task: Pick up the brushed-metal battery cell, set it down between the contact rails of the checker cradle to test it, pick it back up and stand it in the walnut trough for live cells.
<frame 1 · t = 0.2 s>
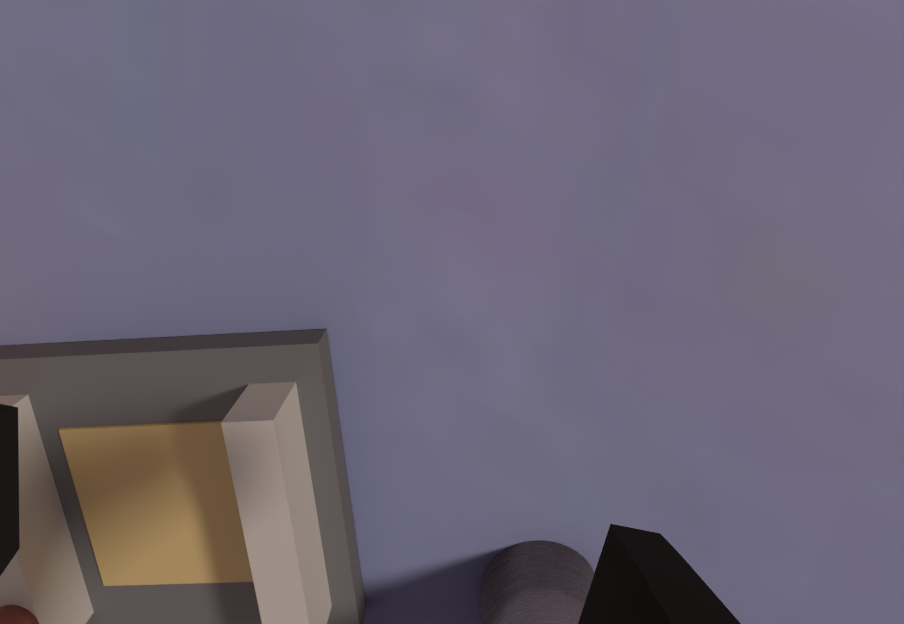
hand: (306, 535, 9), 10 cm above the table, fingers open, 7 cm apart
cell: (538, 588, 21), on the table
checker cradle: (180, 485, 20), on the table
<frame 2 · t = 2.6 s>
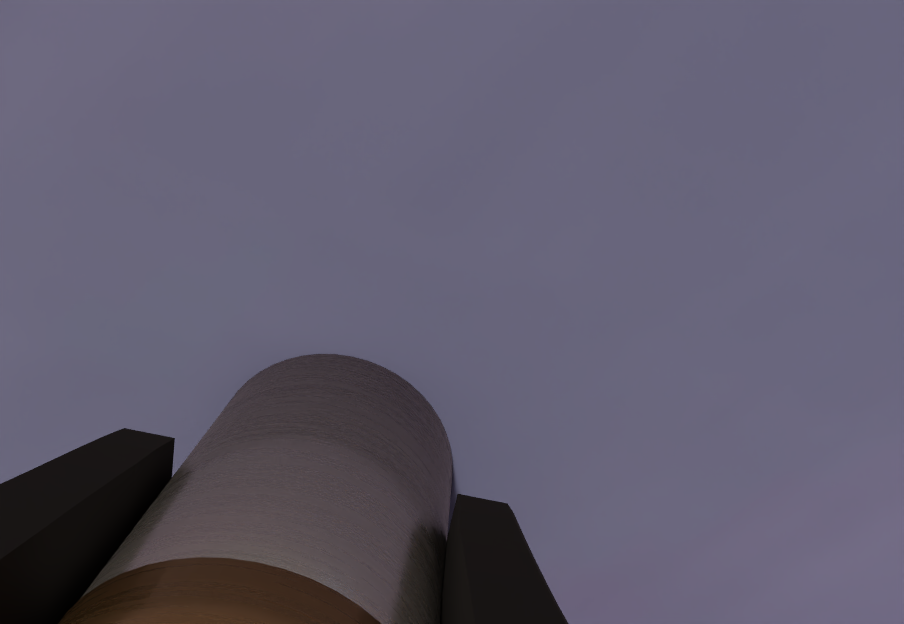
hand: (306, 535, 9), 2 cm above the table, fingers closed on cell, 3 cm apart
cell: (333, 463, 10), on the table, touching gripper
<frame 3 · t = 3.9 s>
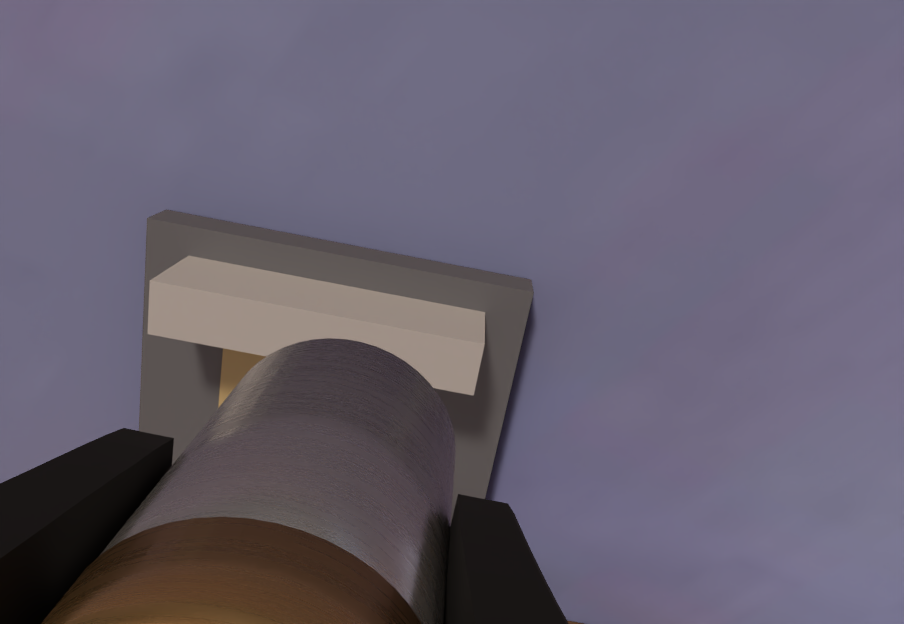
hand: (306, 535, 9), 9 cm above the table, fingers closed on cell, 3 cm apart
cell: (338, 448, 10), point 8 cm above the table, touching gripper
checker cradle: (325, 417, 19), on the table
when the fingers open (4 cm above the table, at t = 5.6 s): cell stays where it is, resting on checker cradle.
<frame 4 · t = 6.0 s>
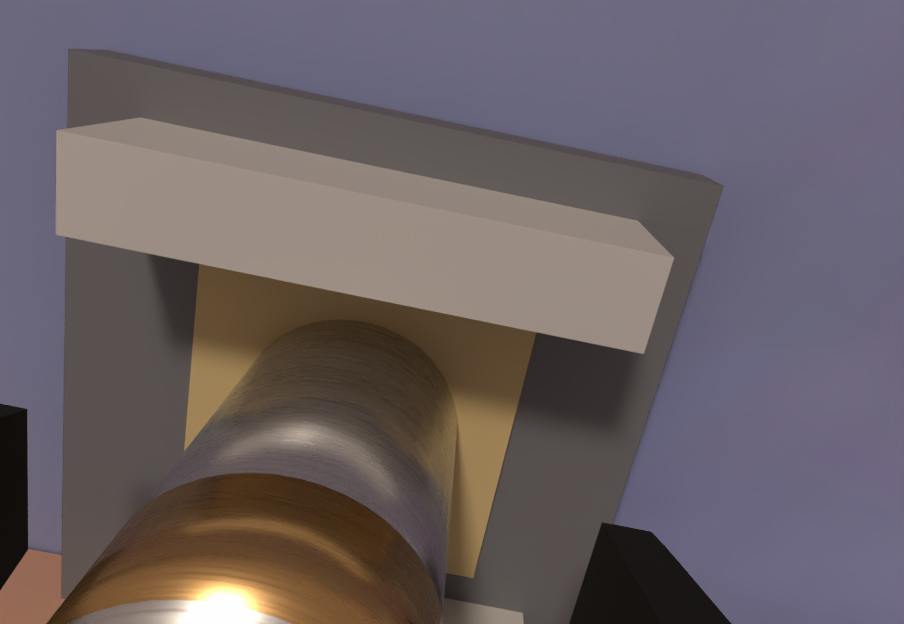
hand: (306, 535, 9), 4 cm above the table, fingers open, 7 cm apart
cell: (347, 422, 11), point 1 cm above the table, touching checker cradle
checker cradle: (358, 398, 12), on the table
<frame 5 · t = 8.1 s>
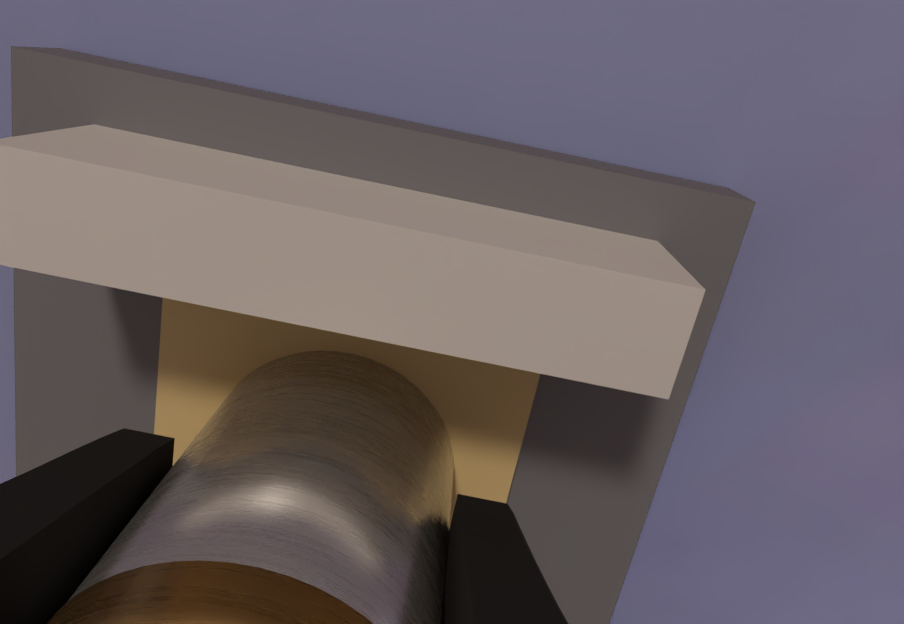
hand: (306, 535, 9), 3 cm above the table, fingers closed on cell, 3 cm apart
cell: (331, 463, 10), point 1 cm above the table, touching checker cradle, gripper
checker cradle: (345, 433, 11), on the table
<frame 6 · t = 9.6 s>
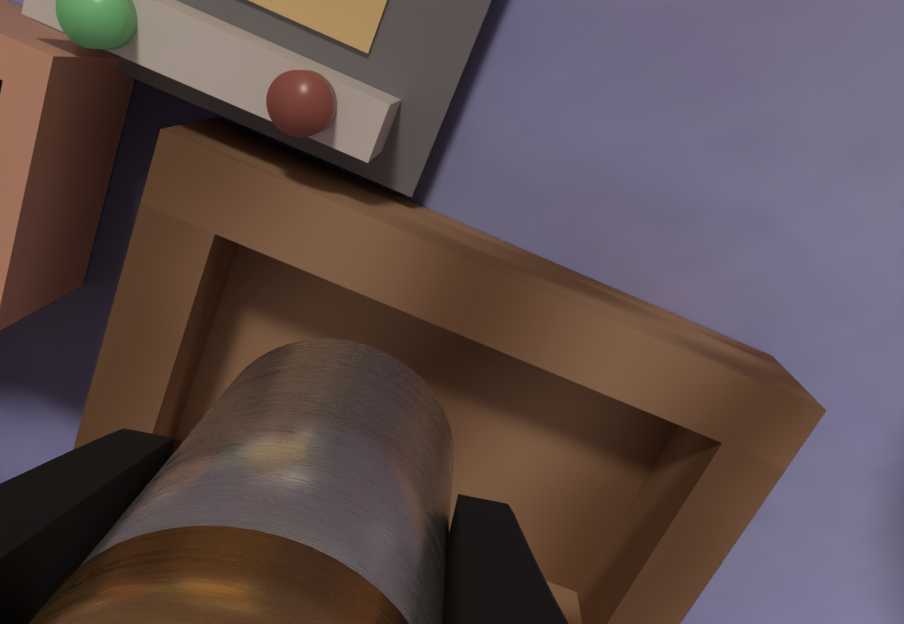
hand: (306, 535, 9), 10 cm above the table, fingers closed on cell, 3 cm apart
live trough: (429, 405, 19), on the table
cell: (333, 451, 10), point 8 cm above the table, touching gripper
when the fingers open (3 cm above the table, at t = 11.4 s): cell drops 1 cm, resting on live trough.
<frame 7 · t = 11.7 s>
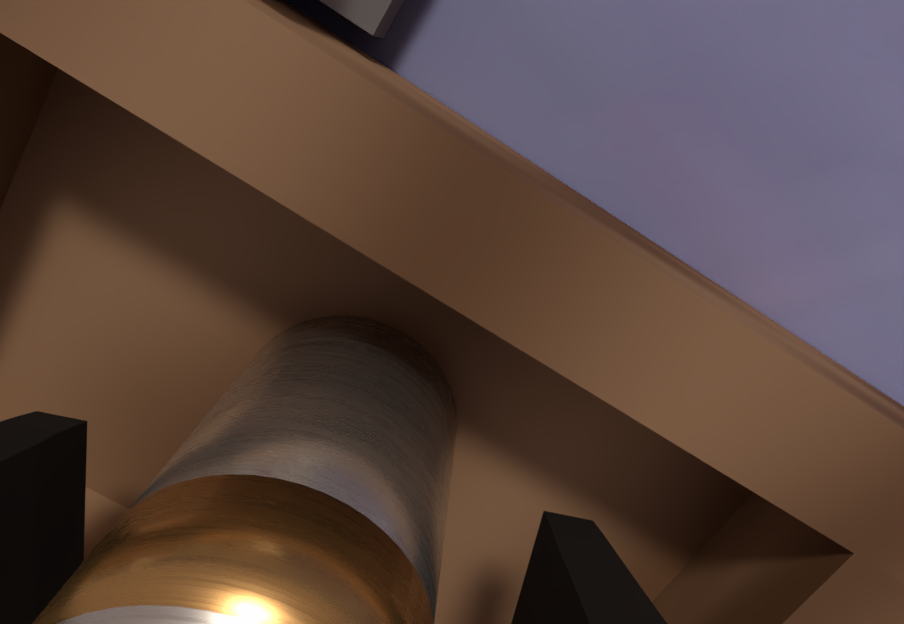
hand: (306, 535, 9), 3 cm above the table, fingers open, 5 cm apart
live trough: (355, 406, 12), on the table
cell: (347, 419, 11), point 1 cm above the table, touching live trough
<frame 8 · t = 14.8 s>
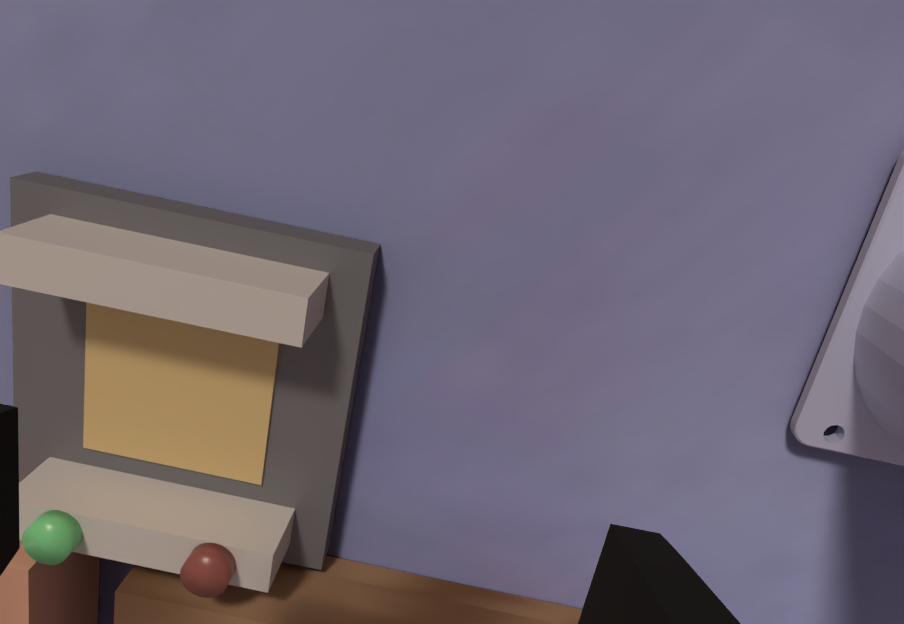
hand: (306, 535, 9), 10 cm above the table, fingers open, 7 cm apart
small wooden tray: (5, 551, 22), on the table
checker cradle: (194, 375, 20), on the table
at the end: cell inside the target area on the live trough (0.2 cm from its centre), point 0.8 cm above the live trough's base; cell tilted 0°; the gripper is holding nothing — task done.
